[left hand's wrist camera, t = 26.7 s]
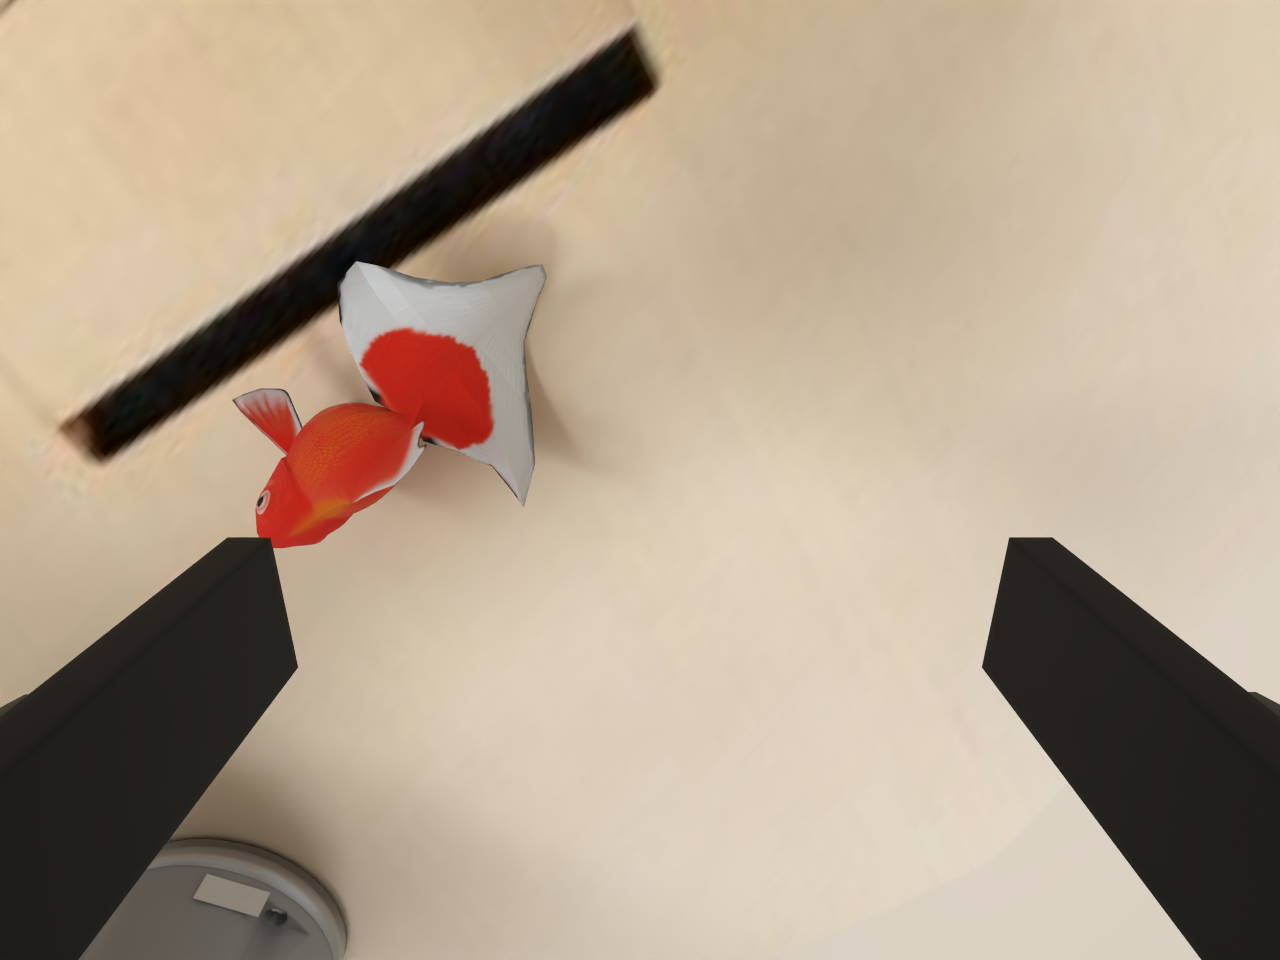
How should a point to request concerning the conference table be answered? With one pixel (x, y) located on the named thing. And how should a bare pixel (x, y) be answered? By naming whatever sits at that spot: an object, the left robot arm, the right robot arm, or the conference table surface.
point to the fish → (404, 397)
